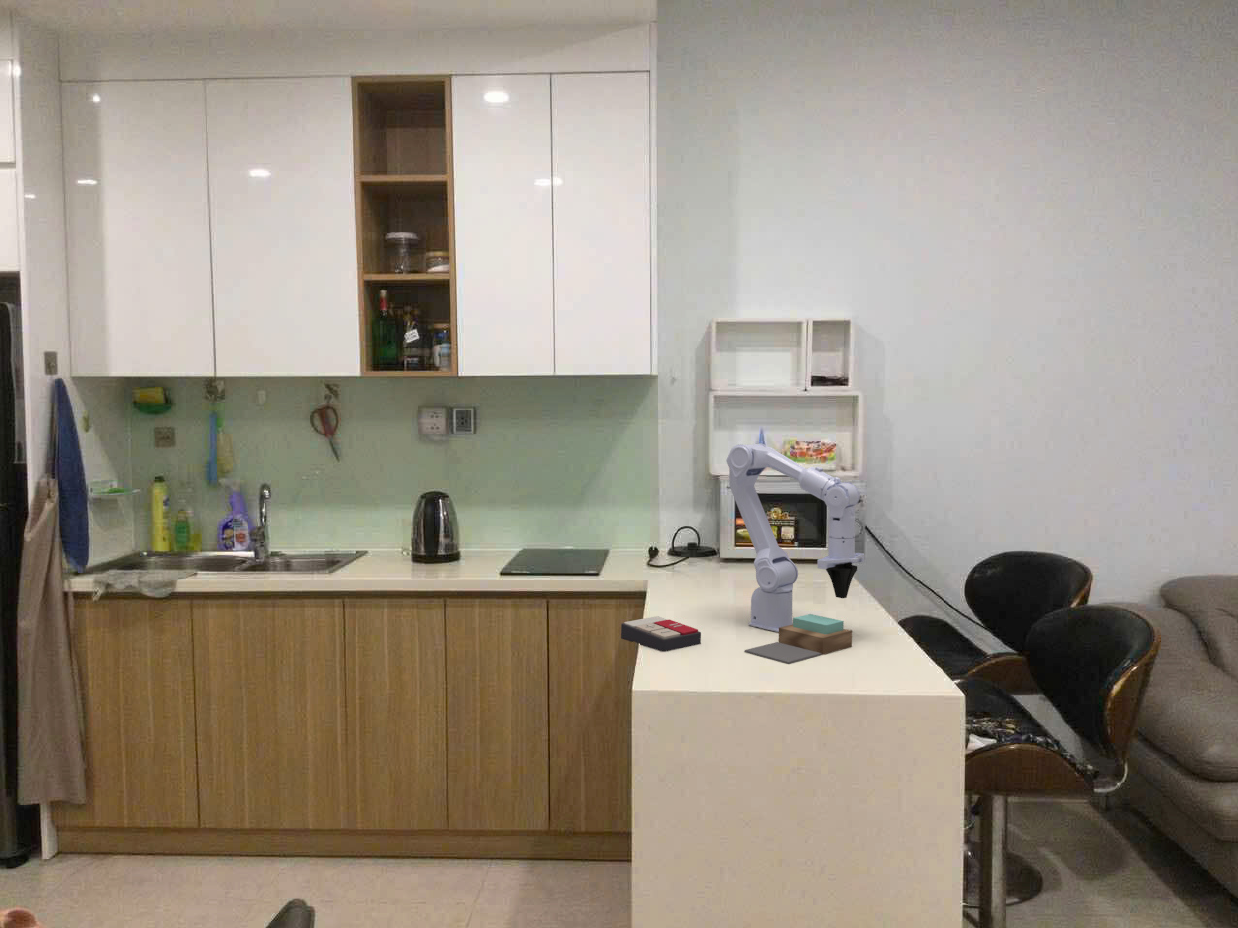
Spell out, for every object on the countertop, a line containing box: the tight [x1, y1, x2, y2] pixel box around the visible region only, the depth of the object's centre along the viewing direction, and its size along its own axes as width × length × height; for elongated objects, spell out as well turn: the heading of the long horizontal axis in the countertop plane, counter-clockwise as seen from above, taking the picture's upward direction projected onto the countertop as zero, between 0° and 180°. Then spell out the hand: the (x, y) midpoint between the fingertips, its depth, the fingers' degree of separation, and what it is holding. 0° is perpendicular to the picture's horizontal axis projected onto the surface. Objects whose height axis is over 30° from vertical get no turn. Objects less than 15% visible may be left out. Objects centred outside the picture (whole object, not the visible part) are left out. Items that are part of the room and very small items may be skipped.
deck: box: [778, 624, 853, 656], centre depth 199 cm, size 12×10×4 cm
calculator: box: [620, 615, 702, 653], centre depth 203 cm, size 11×4×15 cm
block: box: [792, 613, 845, 634], centre depth 200 cm, size 9×6×2 cm, turn 40°
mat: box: [743, 641, 822, 665], centre depth 193 cm, size 12×10×1 cm
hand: (841, 597), depth 205 cm, fingers closed
